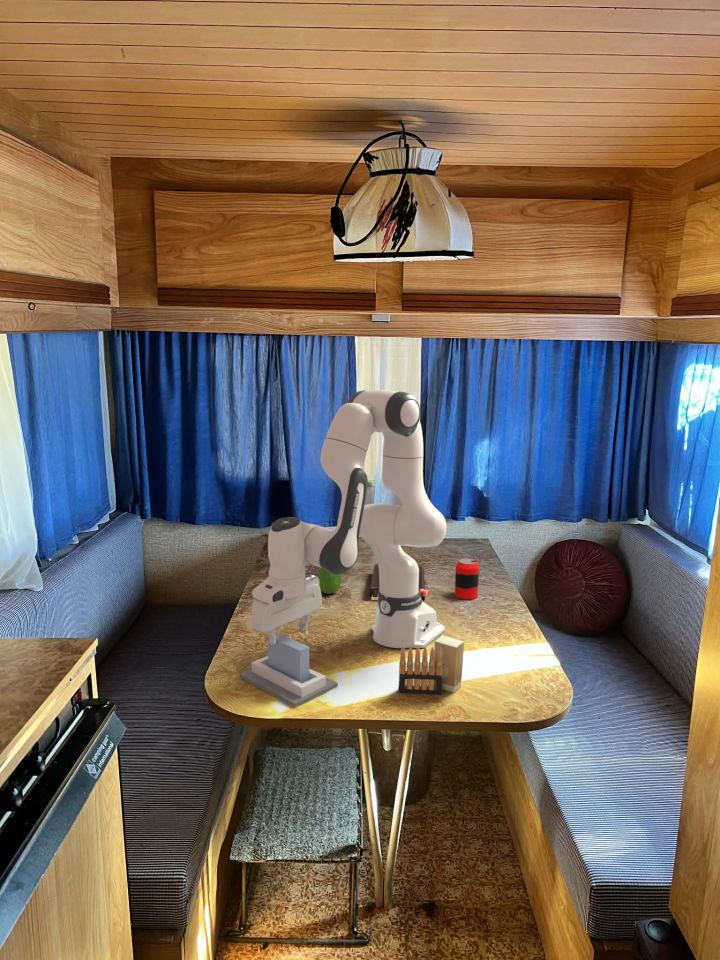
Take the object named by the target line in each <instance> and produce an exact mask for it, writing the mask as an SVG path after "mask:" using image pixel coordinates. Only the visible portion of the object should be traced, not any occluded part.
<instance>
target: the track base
mask: <svg viewBox="0 0 720 960" xmlns="http://www.w3.org/2000/svg"><path fill="white" fill-rule="evenodd" d="M250 665H251V669H248V670H247V671H244V672H241V673H240V674H239V679H241V680H242V681H245V682H247V683H249V684H250V683H251V685H252V684H253V685H252V686H254V687H257V688H258V689H259V690H262V691H264V692H265V693H267V694H268V695H271V696H272V697H275V698H277V699H279V700H280V701H282V702H284V703H285V704H288V705H289V704H290V705H289V706H291V705H292V707H293V706H294V707H293V708H295V707H296V708H298V707H300V706H301V704H302V705H303V704H306V703H307V702H310V701H311V700H314V699H316V698H317V697H319V696H322V695H323V694H325V693H327V692H329V691H332V690H333V688H334V689H336V688H337V686H338V685H339V684H338V682H337V681H334V680H333V679H330V678H328V677H327V675H324V674H322V673H320V672H318V671H317V670H313V669H311V668H310V667H309V681H307V682H305V683H303V684H302V683H300V682H298V681H296V680H294V679H292V678H290V677H288V676H286V675H284V674H282V673H280V672H278V671H276V670H274V669H272V668H270V667H268V655H266V656H263V657H261V658H259V659H256V660H254V661H251V664H250ZM335 687H336V688H335ZM299 705H300V706H299ZM297 706H298V707H297Z"/></svg>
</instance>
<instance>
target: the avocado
mask: <svg viewBox="0 0 720 960" xmlns="http://www.w3.org/2000/svg"><path fill="white" fill-rule="evenodd" d="M317 577H318V578H319V586H320V590H321V593H323V594H326V593H327V594H326V595H330V594H333V593H336V592H337V591H338V590H339V589H340V586H341V583H342V574H340V575H334V574H332V573H330V572H328V571H326V570H324V569H323V568H320V567H319V571H318V573H317Z"/></svg>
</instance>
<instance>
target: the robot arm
mask: <svg viewBox="0 0 720 960" xmlns="http://www.w3.org/2000/svg"><path fill="white" fill-rule="evenodd" d="M420 419H421V407H420V404H419V401H418V399H417V398H416V397H415V396H414V395H412V394H410V393H408V392H405V391H396V390H393V389H392V390H390V389H373V390H369V389H363V390H359V391H356V392H355V393H353V394H352V395H351V396H350V397H349V399H348V400H347V402H346V403H344V404H342V405H341V406H340V407H339V409H338V410H337V412H336V414H335V415H334V418H333V419H332V421H331V423H330V425H329V427H328V430H327V432H326V436H325V438H324V441H323V445H322V448H321V450H320V459H319V461H320V464H321V467H322V469H323V471H324V472H325V474H326V475H327V476H328V478H330V479H331V480H332V481H334V482H335V483H336V485H337V486H338V487H339V489H340V492H341V503H340V508H339V513H338V519H337V522H336V523H337V524H336V528H335V529H334V530H333V529H331V528H327V527H325V526H321V525H318V524H316V523H315V524H314V523H309V522H308V523H307V522H305V521H303V520H301V519H299V518H298V517H294V516H293V517H292V516H287V517H282V518H279V519H277V520H275V521H274V522H273V523H271V525H270V527H269V531H268V537H267V552H268V554H267V555H268V560H269V565H270V567H269V571H268V576H267V578H266V579H265V580H264V581H262V582H260V584H258V585H257V586H255V588H253V590H251V591H252V598H254V600H253V602H252V606H251V626H252V628H253V629H254V630H255V631H257V632H258V633H261V634H265V633H266V634H267V636H270V643H271V644H273V645H274V644H277V643H279V636H276V635H275V634H274V633H276V629H277V628H280V627H282V626H284V625H287V624H289V623H292V622H294V621H296V620H298V619H301V621H300V623H298V631H300V632H301V633H304V632H306V631H308V626H309V625H308V624H309V622H310V620H311V618H312V613H315V612H317V611H318V612H319V611H320V610H321V608H322V607H323V598H322V591H321V590H320V586H319V578H318V575H317V576H316V575H315V574H311V575H309V576H306V569H305V568H306V567H307V565H312V566H315V567H318V568H319V569H320V568H323V569H324V570H326V571H328V572H330V573H332V574H334V575H340V574H341V575H343V574H344V573H347V572H348V571H349V570H351V569H352V568H353V567H354V565H355V564H356V563H357V560H358V558H359V552H360V551H359V549H360V547H359V546H360V544H359V543H360V538H361V539H362V540H364V541H365V543H366V544H368V546H369V547H370V549H371V550H372V552H373V554H374V556H375V559H376V562H377V563H378V567H379V590H378V594H377V597H378V601H377V603H376V608H375V609H376V610H375V617H374V624H373V625H372V627H371V628H372V629H371V631H372V632H373V633H372V640H374V642H375V643H377V644H379V645H381V646H384V647H386V648H395V649H402V647H403V646H404V648H405V649H409V648H410V646H411V648H412V649H413V648H414V649H417V647H419V649H424V648H425V647H426V646H428V645H429V644H430V643H432V642H433V641H435V640H436V638H437V639H438V638H439V637H440V636H441V635H443V633H444V632H445V631H446V627H445V626H444V625H443V624H442V623H441V622H438V618H437V612H436V610H435V609H434V608H433V607H431V606H430V605H428V604H427V603H425V601H424V602H423V601H422V596H424V597H425V598H427V596H428V595H429V591H428V590H427V589H425V590H424V589H421V590H418V588H419V567H418V563H417V562H416V560H415V559H414V558H412V557H411V556H410V555H408V554H407V553H406V552H405V551H404V550H403V548H402V547H401V546H407V547H414V548H430V547H437V546H439V545H440V544H441V543H442V542H443V541H444V539H445V537H446V534H447V529H448V528H447V527H448V526H447V522H446V519H445V516H444V515H443V514H442V513H441V511H439V509H437V508H436V507H435V506H434V504H433V503H432V502H431V501H430V499H429V497H428V495H427V493H426V490H425V485H424V472H423V471H424V437H423V430H422V429H423V428H422V424H421V422H420ZM375 432H376V433H382V436H383V446H382V463H381V464H382V469H381V480H382V484H383V486H384V487H385V488H386V490H389V492H391V493H393V494H394V495H396V497H397V498H398V499H399V502H400V504H393V503H382V502H378V503H369V504H366V499H367V493H368V485H369V484H368V483H369V482H368V480H369V479H368V476H367V475H368V474H367V473H366V471H365V462H366V457H367V452H368V450H369V446H370V442H371V438H372V436H373V434H374V433H375Z"/></svg>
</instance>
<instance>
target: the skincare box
mask: <svg viewBox="0 0 720 960" xmlns="http://www.w3.org/2000/svg"><path fill="white" fill-rule="evenodd" d="M439 647H440V648H441V652H442V664H443V667H442V690H444V691H447V692H450V693H455V692H457V691H458V690H459V689H460V688H461V687H462V681H463V680H462V679H463V664H464V663H463V662H464V650H465V641H463V640H460V639H458V638H453V637H450V636H446V635H444V634H441V635H440V636H438V637H437V639H435V640H434V647H433V649H434V653H435V672H436V662H437V653H438V649H439Z"/></svg>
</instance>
